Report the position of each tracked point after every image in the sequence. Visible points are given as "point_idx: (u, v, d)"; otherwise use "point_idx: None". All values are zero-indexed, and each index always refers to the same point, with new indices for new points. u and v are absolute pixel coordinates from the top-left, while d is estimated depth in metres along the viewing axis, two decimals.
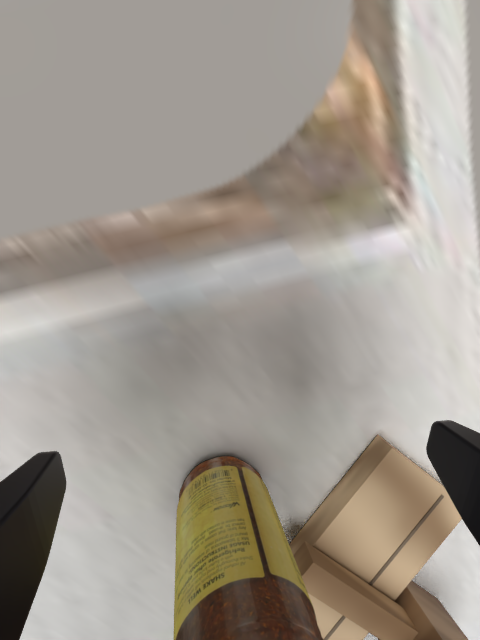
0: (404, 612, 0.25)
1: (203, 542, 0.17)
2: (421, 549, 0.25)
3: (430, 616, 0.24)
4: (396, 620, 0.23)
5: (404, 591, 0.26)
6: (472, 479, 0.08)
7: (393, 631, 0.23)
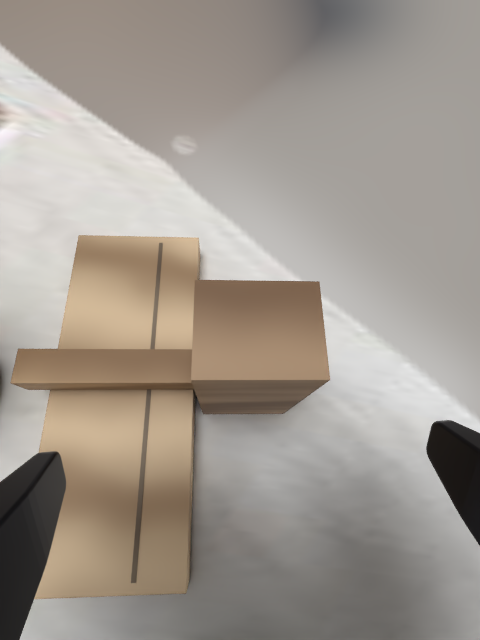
0: None
1: None
2: (180, 297, 0.22)
3: None
4: (162, 351, 0.19)
5: None
6: (472, 479, 0.08)
7: (169, 365, 0.18)
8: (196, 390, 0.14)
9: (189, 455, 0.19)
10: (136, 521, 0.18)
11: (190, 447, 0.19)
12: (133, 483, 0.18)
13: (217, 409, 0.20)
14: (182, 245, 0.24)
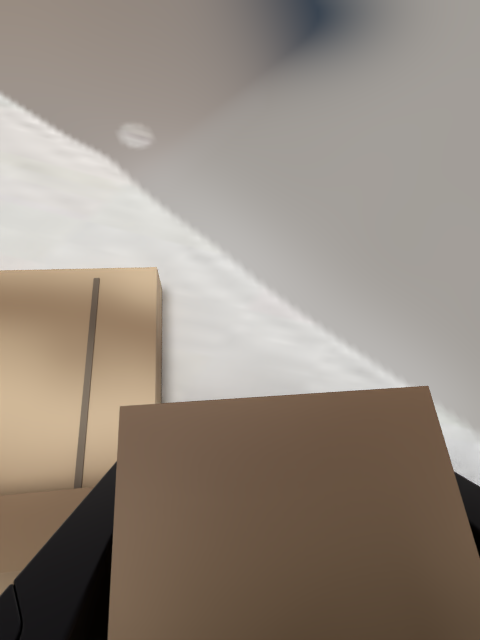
0: None
1: None
2: (129, 367, 0.14)
3: None
4: (88, 492, 0.10)
5: None
6: None
7: None
8: None
9: None
10: None
11: None
12: None
13: None
14: (131, 280, 0.15)
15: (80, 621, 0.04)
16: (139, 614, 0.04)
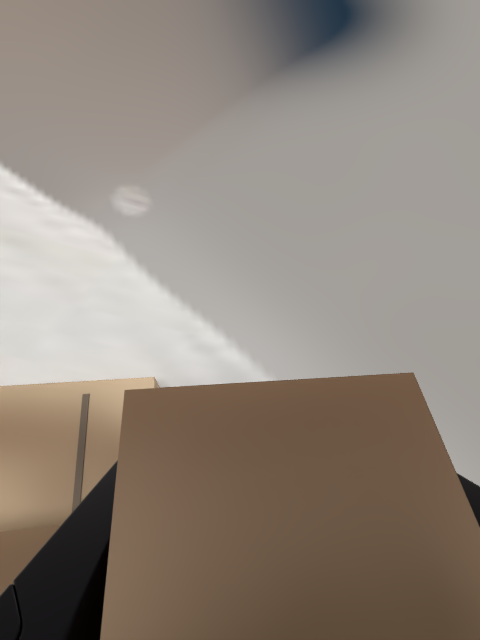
0: None
1: None
2: None
3: None
4: None
5: None
6: None
7: None
8: None
9: None
10: None
11: None
12: None
13: None
14: None
15: (80, 621, 0.04)
16: (136, 583, 0.04)
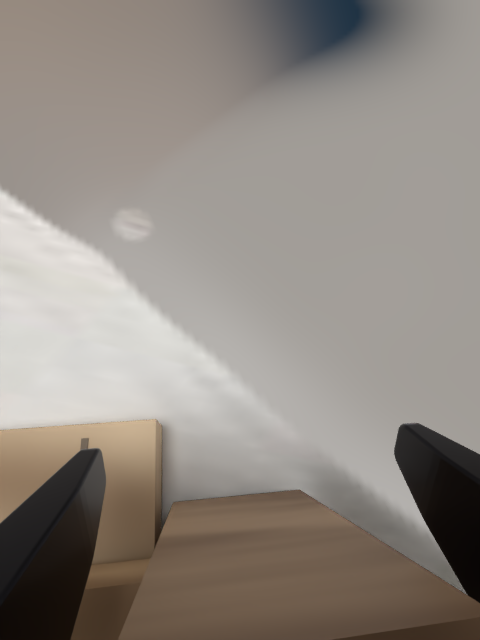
0: None
1: None
2: None
3: (188, 524, 0.10)
4: None
5: None
6: (434, 483, 0.07)
7: (95, 628, 0.09)
8: None
9: None
10: None
11: None
12: None
13: None
14: (126, 439, 0.13)
15: None
16: None
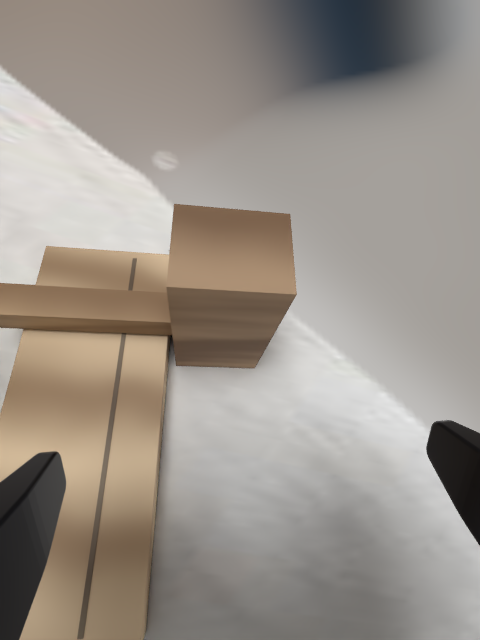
0: None
1: None
2: None
3: None
4: (139, 293, 0.19)
5: None
6: (472, 479, 0.08)
7: (145, 305, 0.19)
8: (171, 310, 0.15)
9: (152, 489, 0.17)
10: (88, 565, 0.16)
11: (154, 480, 0.18)
12: (88, 521, 0.16)
13: (190, 355, 0.20)
14: (157, 262, 0.23)
15: None
16: (178, 255, 0.14)
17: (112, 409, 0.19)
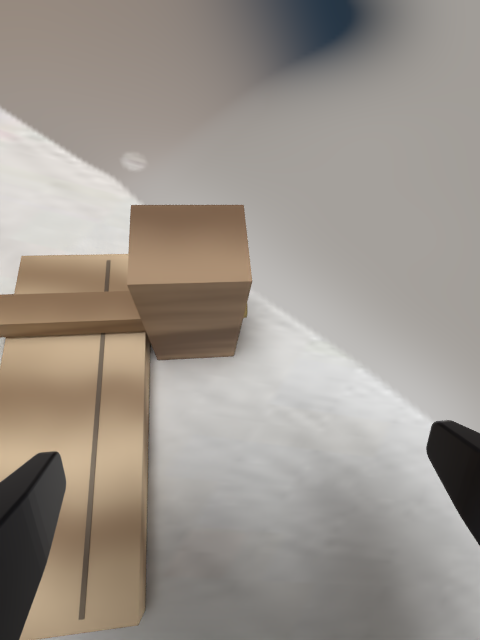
0: None
1: None
2: None
3: None
4: (113, 293, 0.20)
5: None
6: (472, 479, 0.08)
7: (119, 304, 0.20)
8: (137, 306, 0.16)
9: (140, 477, 0.18)
10: (84, 552, 0.17)
11: (141, 469, 0.19)
12: (81, 512, 0.17)
13: (168, 348, 0.21)
14: None
15: None
16: (137, 254, 0.14)
17: (96, 406, 0.20)
